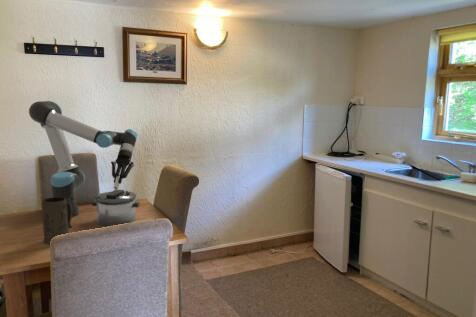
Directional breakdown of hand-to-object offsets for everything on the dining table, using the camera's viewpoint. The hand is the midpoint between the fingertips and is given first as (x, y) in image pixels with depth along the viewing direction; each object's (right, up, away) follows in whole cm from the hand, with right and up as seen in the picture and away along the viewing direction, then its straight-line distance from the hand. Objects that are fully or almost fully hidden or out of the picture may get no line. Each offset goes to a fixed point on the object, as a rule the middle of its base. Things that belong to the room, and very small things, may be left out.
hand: (115, 188), depth 208 cm
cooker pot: (0, -18, +2) cm, 18 cm away
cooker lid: (0, -6, +1) cm, 6 cm away
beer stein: (-18, -22, -25) cm, 38 cm away
